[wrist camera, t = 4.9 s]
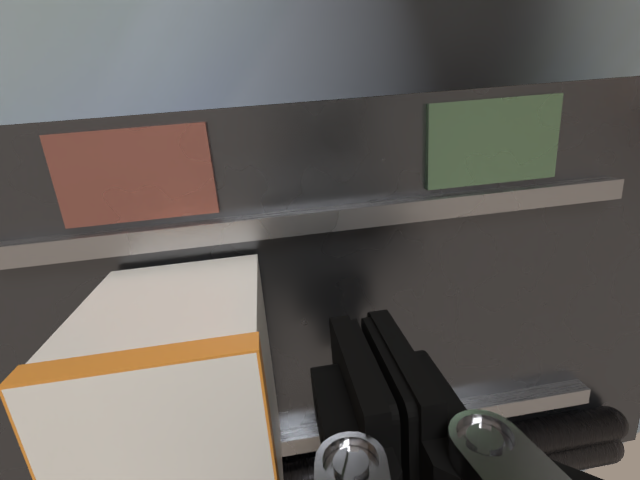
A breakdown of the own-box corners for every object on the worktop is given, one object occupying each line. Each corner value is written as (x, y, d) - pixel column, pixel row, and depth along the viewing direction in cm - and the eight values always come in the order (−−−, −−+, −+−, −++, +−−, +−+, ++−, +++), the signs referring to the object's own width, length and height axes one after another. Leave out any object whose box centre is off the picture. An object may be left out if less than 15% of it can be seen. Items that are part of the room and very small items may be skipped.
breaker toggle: (258, 252, 12) (258, 349, 7) (281, 424, 13) (293, 593, 9) (108, 269, 11) (-4, 387, 6) (153, 445, 13) (93, 636, 8)
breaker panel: (605, 80, 16) (759, 65, 11) (565, 378, 20) (662, 463, 15) (-61, 132, 13) (-249, 143, 8) (58, 463, 18) (-20, 599, 13)
